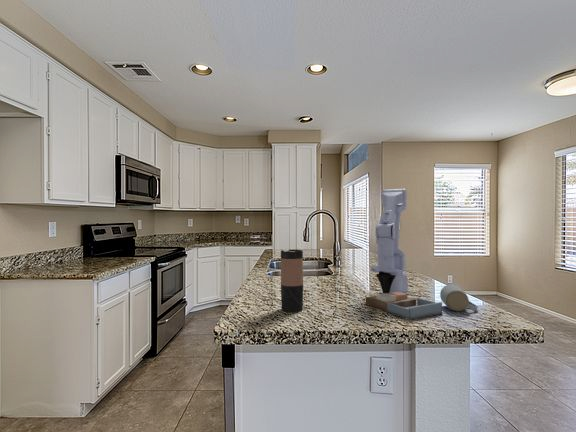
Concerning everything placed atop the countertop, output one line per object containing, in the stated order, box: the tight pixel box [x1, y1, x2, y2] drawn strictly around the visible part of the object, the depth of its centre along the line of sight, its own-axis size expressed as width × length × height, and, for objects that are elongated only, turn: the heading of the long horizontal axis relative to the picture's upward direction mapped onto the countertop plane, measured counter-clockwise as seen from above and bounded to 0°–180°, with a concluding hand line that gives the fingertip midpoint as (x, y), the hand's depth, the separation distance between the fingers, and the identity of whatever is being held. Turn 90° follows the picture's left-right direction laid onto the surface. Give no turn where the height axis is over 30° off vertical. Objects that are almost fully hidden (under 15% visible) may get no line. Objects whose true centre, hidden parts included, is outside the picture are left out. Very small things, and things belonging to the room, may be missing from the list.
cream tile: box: [376, 293, 396, 302], centre depth 113 cm, size 4×4×2 cm
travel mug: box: [280, 249, 304, 313], centre depth 111 cm, size 8×8×20 cm
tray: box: [386, 297, 443, 320], centre depth 106 cm, size 14×9×4 cm, turn 117°
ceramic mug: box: [439, 284, 479, 312], centre depth 110 cm, size 11×8×8 cm
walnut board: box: [365, 295, 417, 312], centre depth 115 cm, size 13×11×2 cm
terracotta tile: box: [388, 292, 408, 300], centre depth 116 cm, size 4×4×2 cm
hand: (386, 293), depth 121 cm, fingers closed
